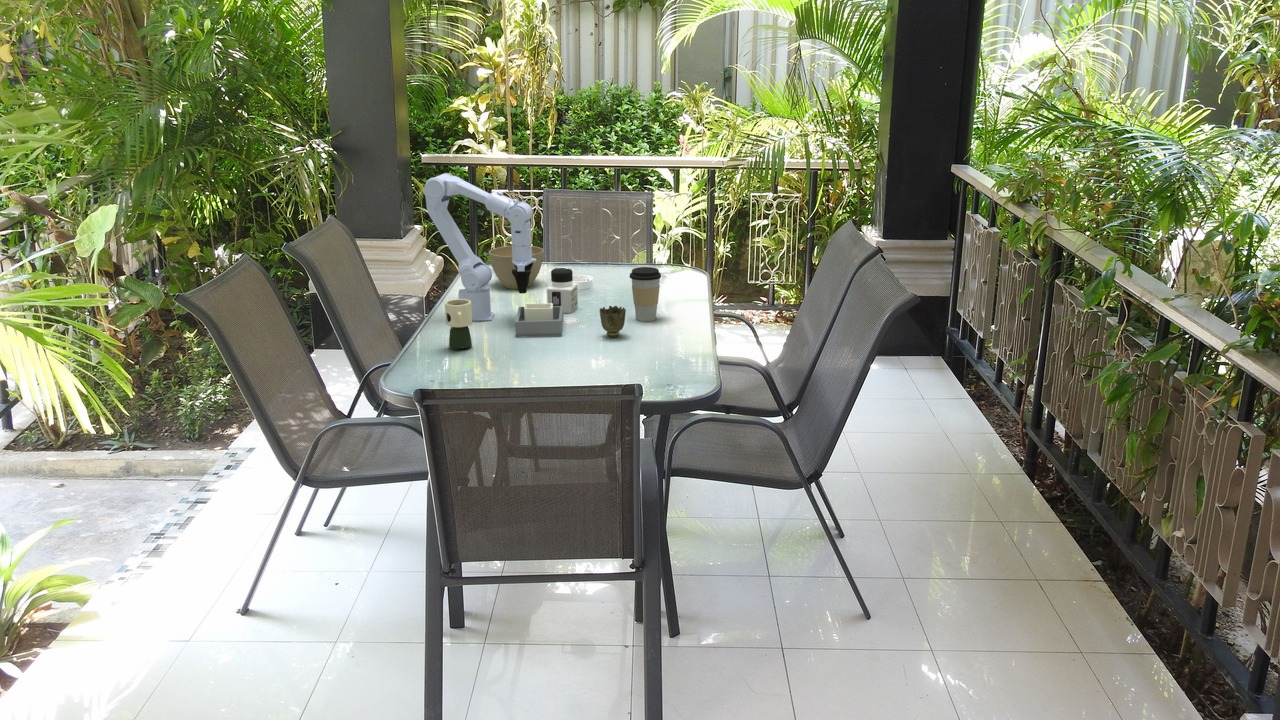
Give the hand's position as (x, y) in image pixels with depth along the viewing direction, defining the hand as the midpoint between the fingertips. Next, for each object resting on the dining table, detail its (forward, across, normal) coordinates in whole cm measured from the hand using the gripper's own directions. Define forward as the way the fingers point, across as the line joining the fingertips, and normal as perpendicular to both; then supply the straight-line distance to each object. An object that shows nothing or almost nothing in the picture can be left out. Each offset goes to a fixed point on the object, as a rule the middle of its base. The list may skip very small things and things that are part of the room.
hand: (523, 289), depth 316 cm
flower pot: (+10, +42, +5) cm, 43 cm away
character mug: (+10, -26, +16) cm, 32 cm away
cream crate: (+9, -9, -5) cm, 13 cm away
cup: (+10, -18, -26) cm, 33 cm away
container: (+10, +11, -11) cm, 18 cm away
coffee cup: (+10, -1, -36) cm, 37 cm away
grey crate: (+9, -9, -5) cm, 14 cm away
